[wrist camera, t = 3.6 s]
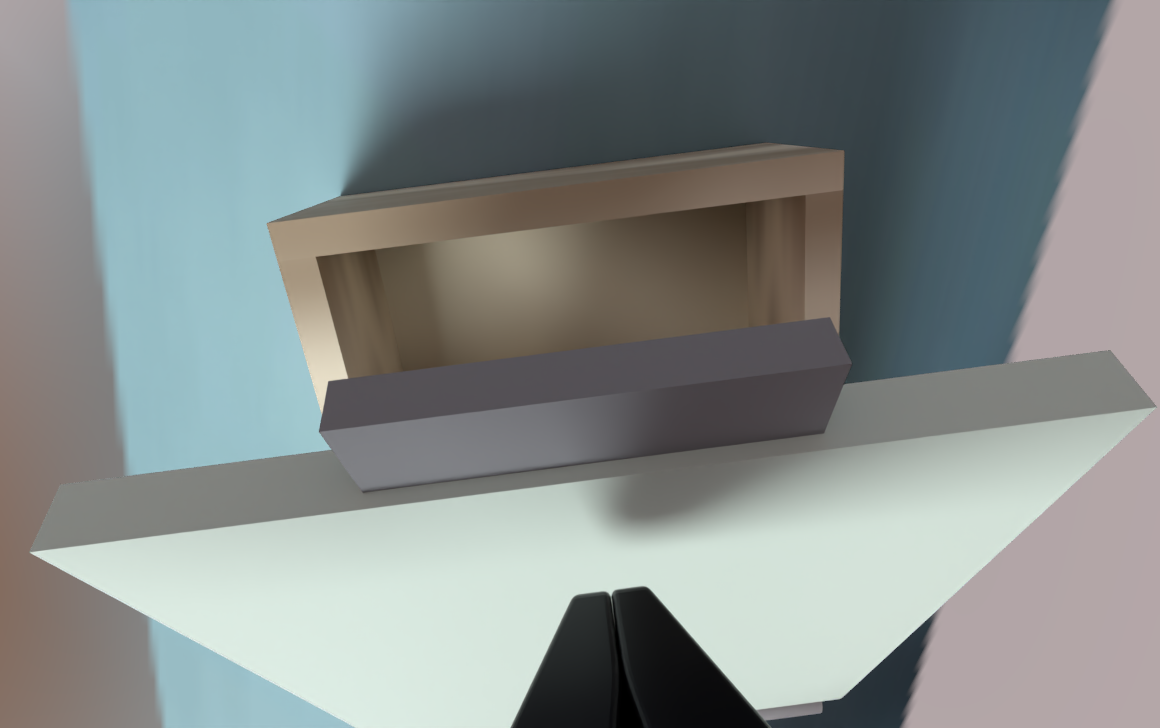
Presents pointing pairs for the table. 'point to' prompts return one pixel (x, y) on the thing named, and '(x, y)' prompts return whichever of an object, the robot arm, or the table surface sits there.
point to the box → (564, 259)
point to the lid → (599, 516)
